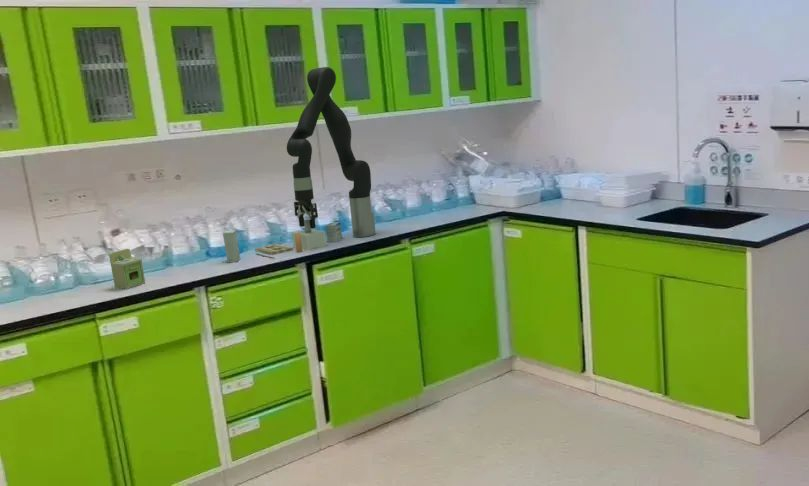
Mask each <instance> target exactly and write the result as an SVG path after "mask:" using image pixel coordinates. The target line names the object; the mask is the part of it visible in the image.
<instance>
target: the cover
mask: <svg viewBox="0 0 809 486" xmlns="http://www.w3.org/2000/svg"><path fill="white" fill-rule="evenodd" d="M309 220H310V219H304V226H303V227H304V230H299V231H294V232H292V233H291V234H292V241H293V248H294V247H296V243H295V233H301V242H302V250H303V249H306V250H305V251H310V250H309V249H311V250H315V249H314V248H316V249H319V248H318V247H320V248H323V247H322V246H324V247H327V246H326V245H327V237H326V230H320V229H319V230H318V229H315V228H313V229H311V228H310V221H309Z"/></svg>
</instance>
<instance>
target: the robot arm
mask: <svg viewBox="0 0 809 486" xmlns="http://www.w3.org/2000/svg"><path fill="white" fill-rule="evenodd" d="M336 75H337V74H336V72H335V70H334V69H333V68H331V67H329V66H323V67H317V68H312V69H310V70H309V71H308V72H307V76H306V81H307V85H308V87H309V89H310V91H311V94H312V97H311V99H310V101H309V102H308V103H307V104H306V106H305V107H304V108H303V110H302V113H300V117H299V120H298V122H297V125H296V128H295V129H294V131H293V133H292V134H291V136H290V138H289V139H288V141H287V143H286V152H287V154H288V155H289V156H290V157H294V158H295V157H296V158H298V159H297V162H296V163H294V164H293V165H292V176H293V191H294V200H295V201H294V202H293V206H294V207H293V208H294V215H295V217H297V218H298V224H299V227H300V228H302V227H305V226H304V220H305V215H306V216H307V217H308V220H309V221H310V228H311V229H316V228H317V227H316V226H317V225H316V219H318V218H319V215H318V214H319V213H318V207H317V206H318V205H317V203H316V202H312V200H313V199H314V198H315V197H314V189H313V181H312V176H311V162H312V161H311V160H312V155H313V147H312V144H311V142H310V141H309V140H308V138H309V137H312V136H313V135H314V132H315V130H316V126H317V124H318V123H317V122H318V120H319V117H320V114H321V115H322V117H323V120H324V122H325V126H326V128H327V130H328V132H329V136H330V138H331V140H332V142H333V143H332V144H333V145H334V147H335V151H336V153H337V156H338V159H339V164H340V167H341V171H342V173H343V176H344V177H345V178H346V180H348V181H350V182H353V187H352V189H351V190H349V192H348V199H349V207H350V219H351V228H352V230H351V231H352V237H354V238H365V237H366V238H367V237H371V236H374V235H376V233H377V232H376V223H375V213H374V212H372V201H371V190H372V175H371V174H372V173H371V169H370V165H369V163H368V162H366V161H365V160H361V159H360V160H356V157H355V155H354V153H353V149H352V129H351V125H350V123H349V120H348V118H347V115H346V114H345V113H344V111H343V110H342V109H341V107H339V106H338V105H337V104H336V102H334V100H333V99H332V97H331V95H330V94H331V92H332V91H333V89H334V87H335V85H336V82H337V76H336Z"/></svg>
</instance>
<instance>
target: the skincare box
mask: <svg viewBox="0 0 809 486" xmlns="http://www.w3.org/2000/svg"><path fill="white" fill-rule="evenodd" d="M222 237H223V242H224V249H225V255H226V261H227V263H237V262H238V261H240V260H241V255H240V249H239V243H238V236H237V230H236V229H232V230H226V231H224V232H223V233H222Z"/></svg>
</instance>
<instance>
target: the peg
mask: <svg viewBox="0 0 809 486" xmlns="http://www.w3.org/2000/svg"><path fill="white" fill-rule="evenodd" d="M295 243H296V248H295V249H296V253H302V252H303V251H304V250H303V249H302V242H301V233H295Z"/></svg>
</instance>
